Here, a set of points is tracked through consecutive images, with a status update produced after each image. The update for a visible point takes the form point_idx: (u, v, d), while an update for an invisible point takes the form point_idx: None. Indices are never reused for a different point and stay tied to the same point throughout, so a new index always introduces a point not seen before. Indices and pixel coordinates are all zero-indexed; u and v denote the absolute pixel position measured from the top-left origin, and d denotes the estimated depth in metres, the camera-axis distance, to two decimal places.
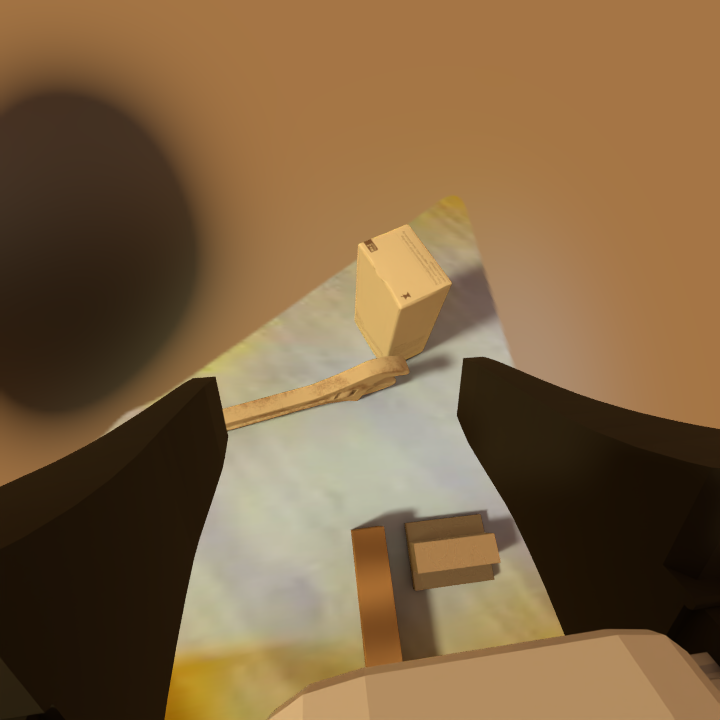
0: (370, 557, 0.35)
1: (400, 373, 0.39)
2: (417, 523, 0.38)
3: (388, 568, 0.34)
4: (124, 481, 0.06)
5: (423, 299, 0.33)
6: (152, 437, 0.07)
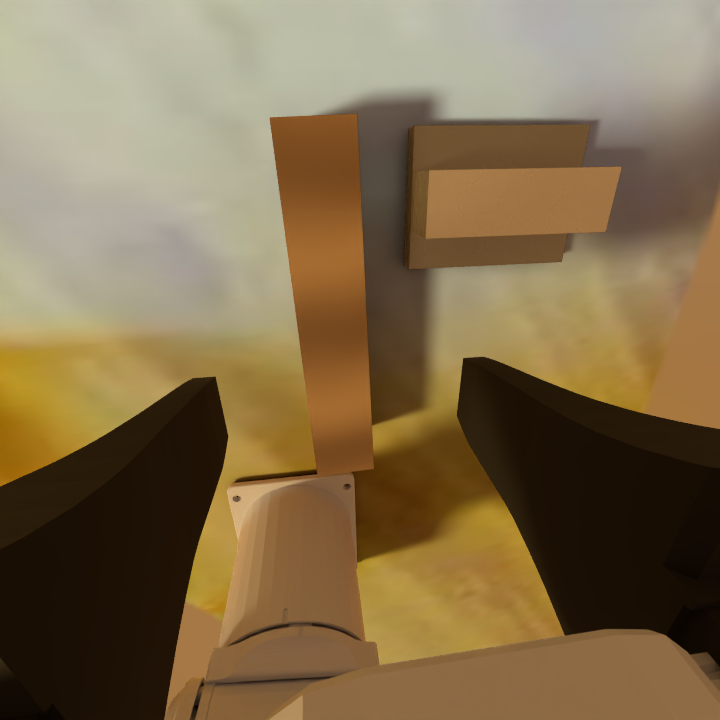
0: (316, 193, 0.14)
1: None
2: (441, 129, 0.16)
3: (359, 221, 0.15)
4: (124, 481, 0.06)
5: None
6: (152, 437, 0.07)
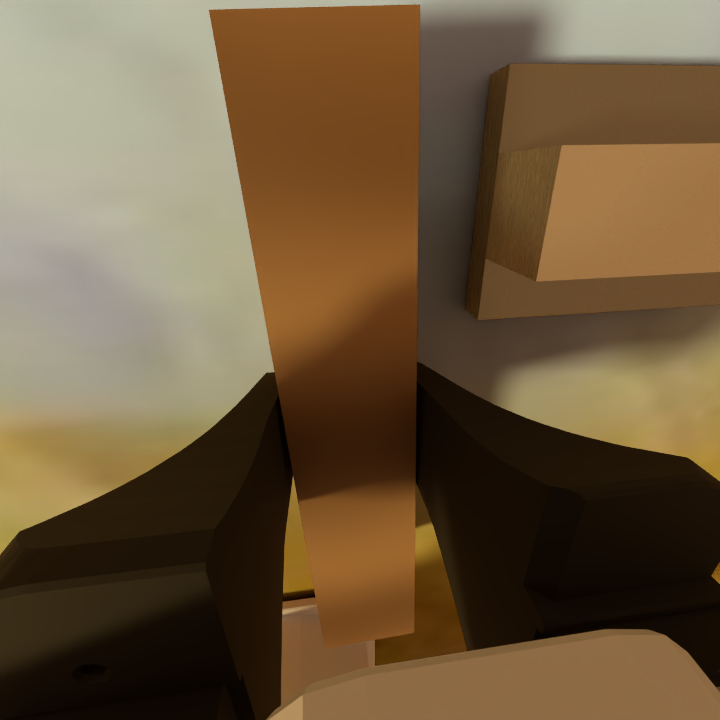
0: (323, 193, 0.06)
1: None
2: (558, 72, 0.08)
3: (412, 252, 0.07)
4: (256, 468, 0.06)
5: None
6: (263, 427, 0.07)
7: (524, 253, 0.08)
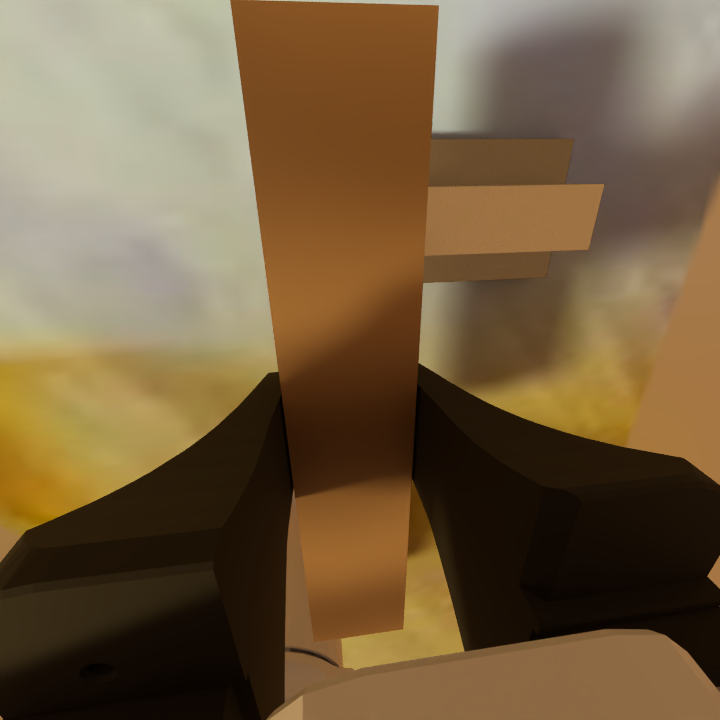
0: (333, 188, 0.06)
1: None
2: None
3: (418, 250, 0.07)
4: (260, 467, 0.06)
5: None
6: (266, 427, 0.07)
7: None
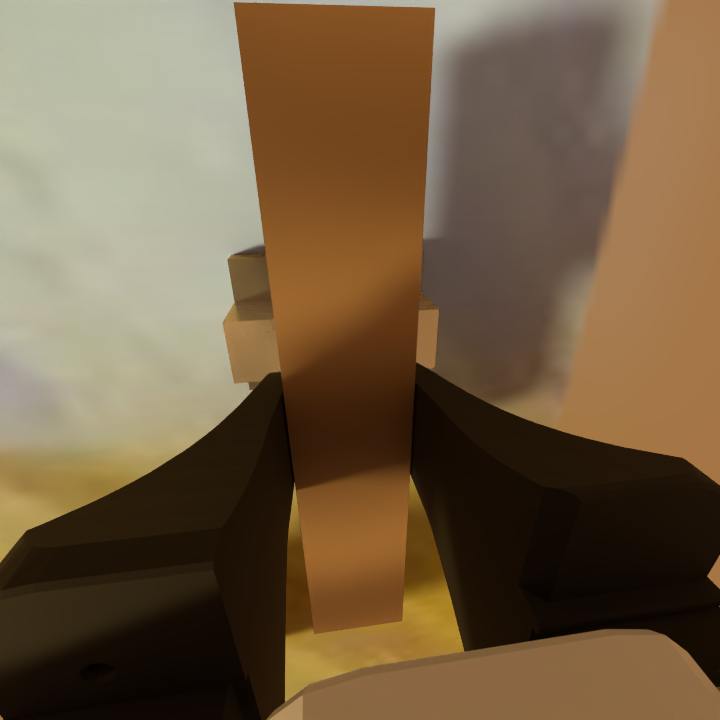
0: (333, 185, 0.07)
1: None
2: (258, 261, 0.15)
3: (416, 245, 0.07)
4: (260, 467, 0.06)
5: None
6: (266, 427, 0.07)
7: None
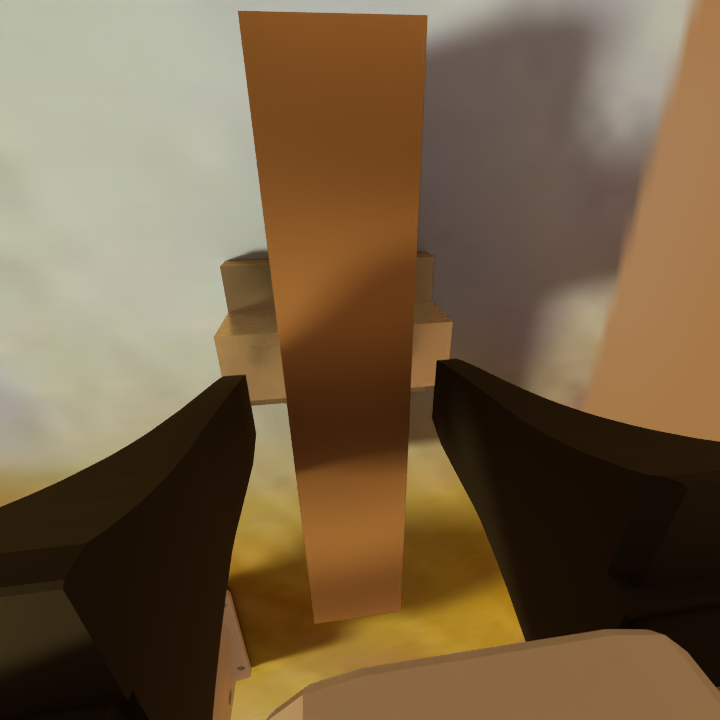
0: (332, 183, 0.07)
1: None
2: (254, 268, 0.14)
3: (411, 240, 0.08)
4: (179, 475, 0.06)
5: None
6: (198, 433, 0.07)
7: None
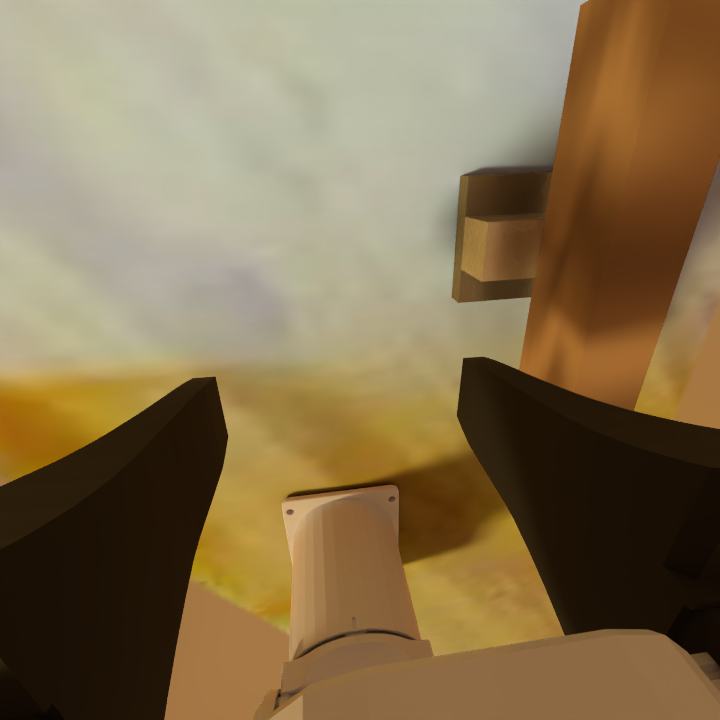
0: (699, 60, 0.10)
1: None
2: (493, 178, 0.17)
3: None
4: (124, 481, 0.06)
5: None
6: (152, 437, 0.07)
7: (477, 268, 0.17)
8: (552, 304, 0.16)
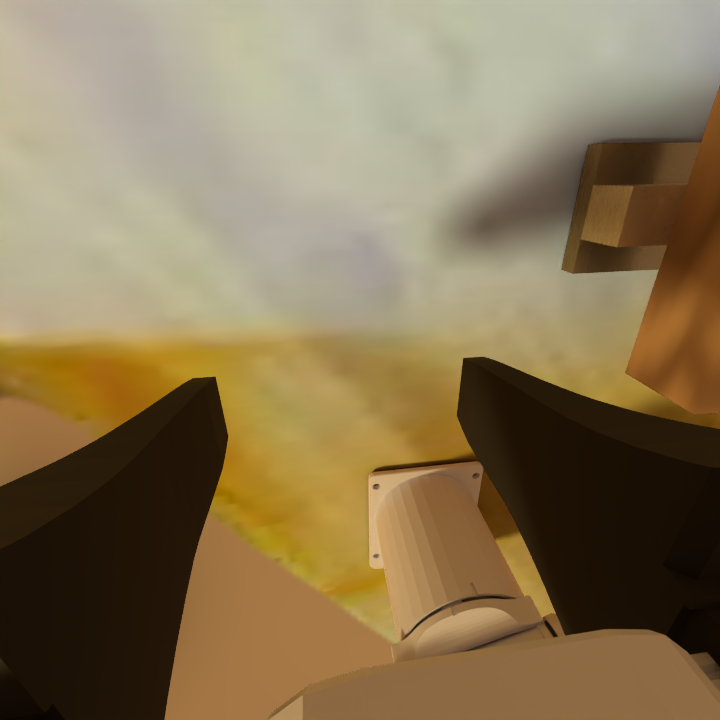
0: None
1: None
2: (625, 146, 0.17)
3: None
4: (124, 481, 0.06)
5: None
6: (152, 437, 0.07)
7: (609, 234, 0.17)
8: (693, 269, 0.16)
